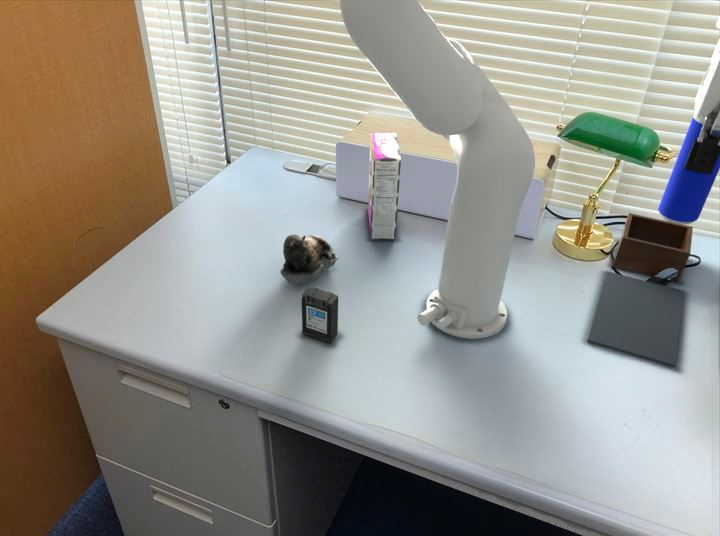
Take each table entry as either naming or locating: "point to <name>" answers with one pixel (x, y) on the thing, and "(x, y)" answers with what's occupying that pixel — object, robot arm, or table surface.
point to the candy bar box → (383, 185)
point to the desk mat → (638, 318)
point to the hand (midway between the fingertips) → (698, 161)
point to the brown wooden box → (653, 246)
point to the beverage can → (687, 183)
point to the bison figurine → (306, 258)
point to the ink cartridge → (319, 314)
